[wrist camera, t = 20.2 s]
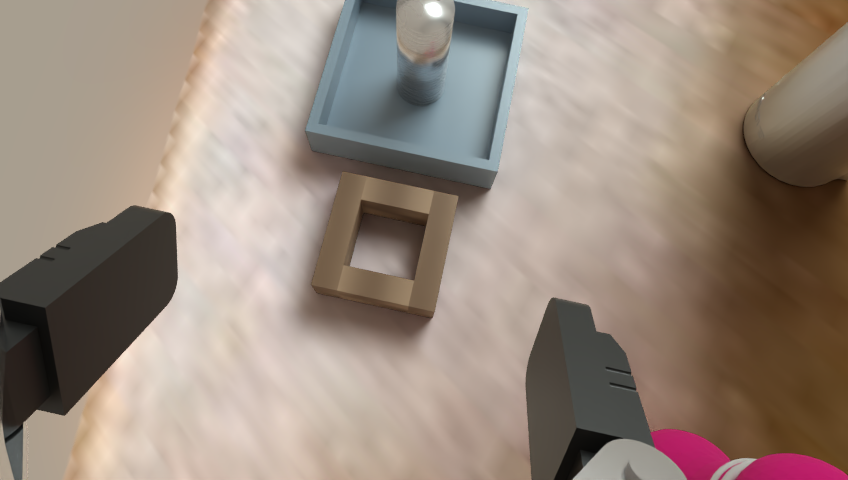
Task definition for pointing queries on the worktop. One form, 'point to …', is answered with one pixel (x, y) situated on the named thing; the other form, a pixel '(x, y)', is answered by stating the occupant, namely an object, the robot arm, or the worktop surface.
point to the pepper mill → (737, 461)
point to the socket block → (396, 204)
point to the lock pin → (423, 48)
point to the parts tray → (410, 124)
